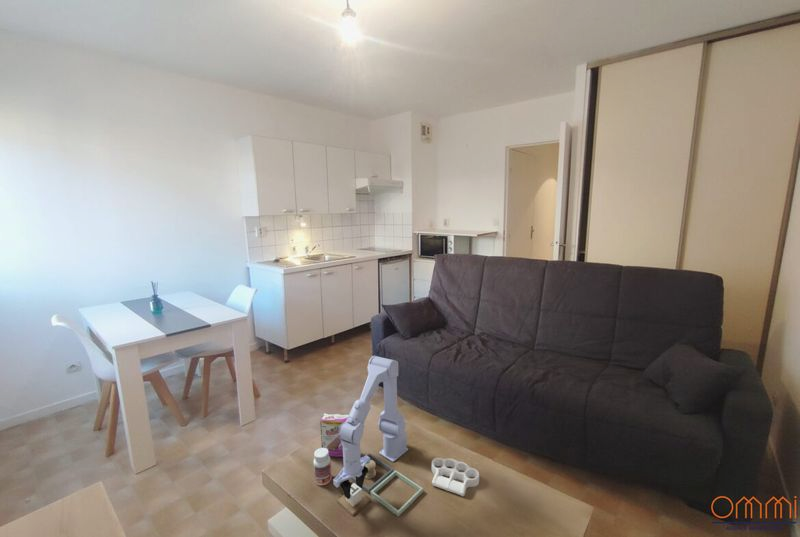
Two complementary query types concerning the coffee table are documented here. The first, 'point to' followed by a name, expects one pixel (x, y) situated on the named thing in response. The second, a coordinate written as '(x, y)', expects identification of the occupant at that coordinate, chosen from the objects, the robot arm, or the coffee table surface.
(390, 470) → the charcoal tray
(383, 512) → the coffee table surface
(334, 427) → the candy bar box
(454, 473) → the knuckle duster
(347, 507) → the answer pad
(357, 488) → the letter cube
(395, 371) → the robot arm
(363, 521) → the coffee table surface
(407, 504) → the green tray
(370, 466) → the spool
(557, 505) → the coffee table surface
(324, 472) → the pill bottle
